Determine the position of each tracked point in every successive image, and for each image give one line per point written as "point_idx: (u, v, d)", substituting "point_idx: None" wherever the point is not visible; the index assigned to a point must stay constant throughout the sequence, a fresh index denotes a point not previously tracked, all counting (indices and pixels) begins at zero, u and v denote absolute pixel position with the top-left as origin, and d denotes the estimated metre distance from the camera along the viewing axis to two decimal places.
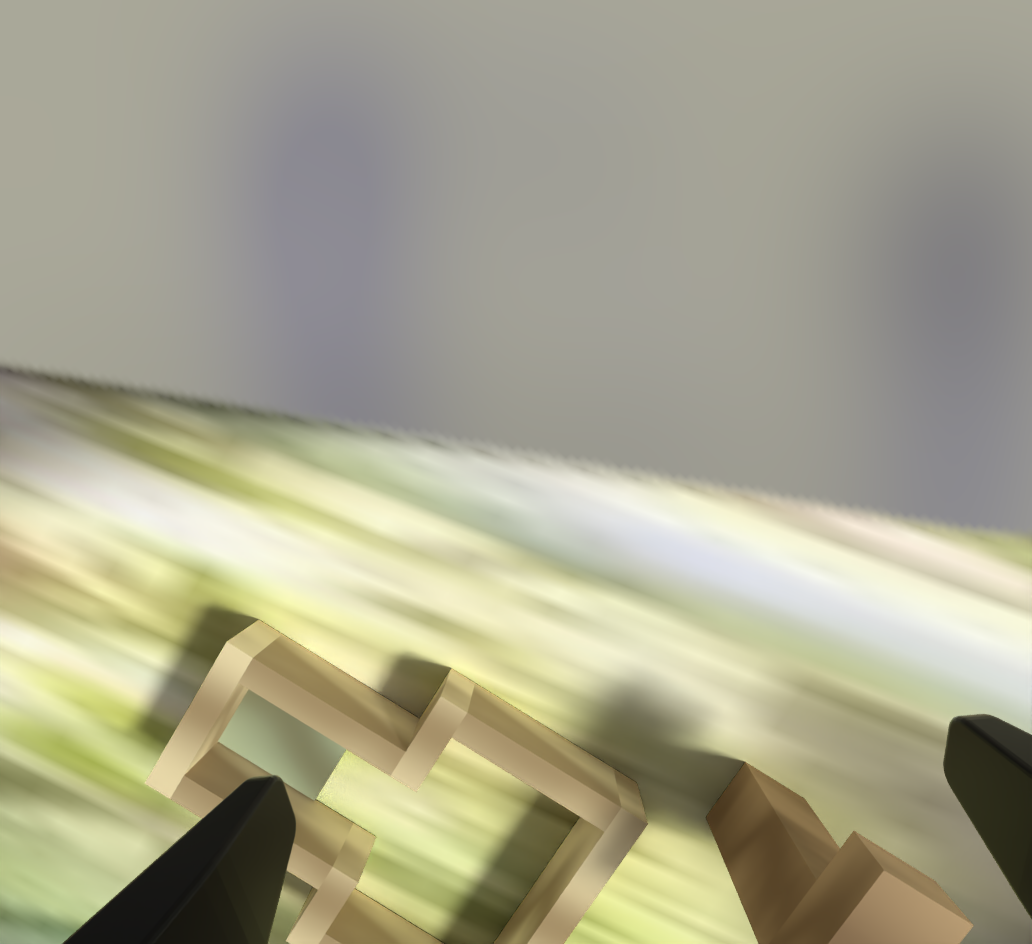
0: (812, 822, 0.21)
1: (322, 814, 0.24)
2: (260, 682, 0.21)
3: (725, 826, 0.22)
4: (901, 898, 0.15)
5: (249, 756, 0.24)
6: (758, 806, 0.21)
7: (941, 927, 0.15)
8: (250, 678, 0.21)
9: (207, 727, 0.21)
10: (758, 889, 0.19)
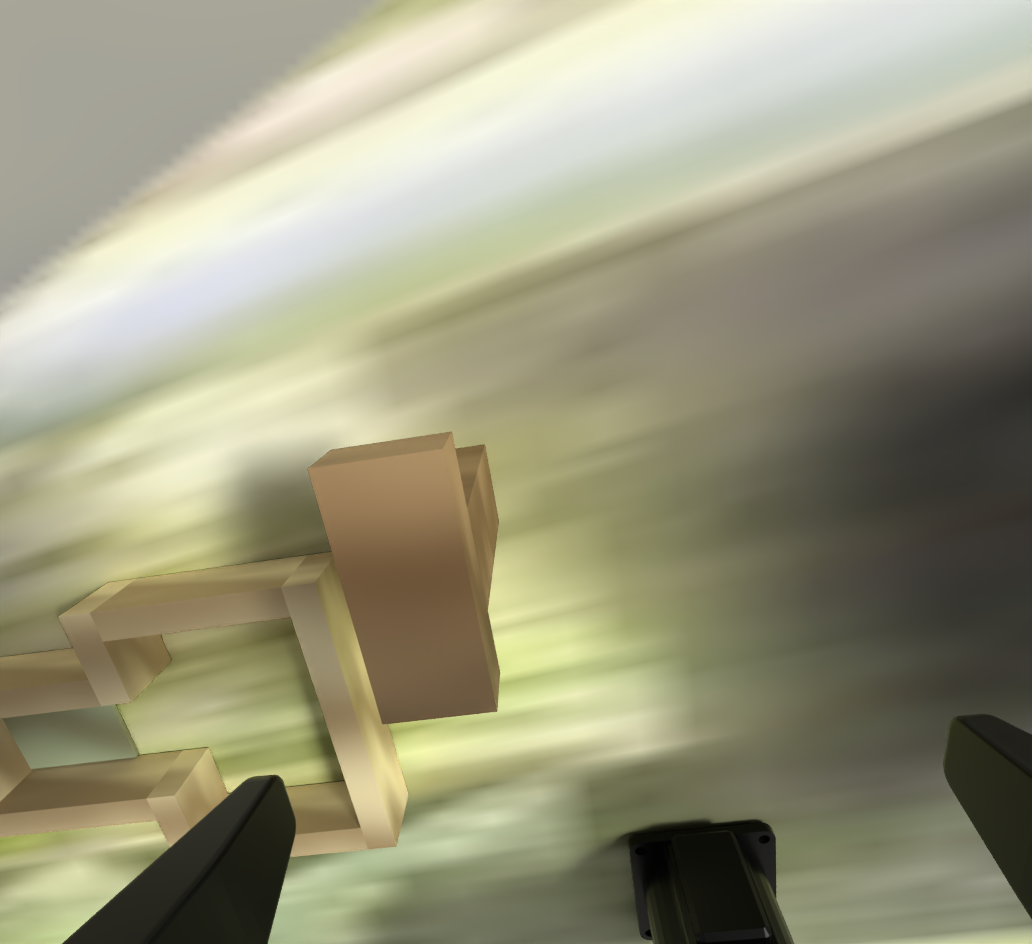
0: None
1: (145, 762, 0.24)
2: None
3: None
4: (352, 481, 0.12)
5: (61, 762, 0.24)
6: None
7: (416, 477, 0.12)
8: None
9: None
10: None
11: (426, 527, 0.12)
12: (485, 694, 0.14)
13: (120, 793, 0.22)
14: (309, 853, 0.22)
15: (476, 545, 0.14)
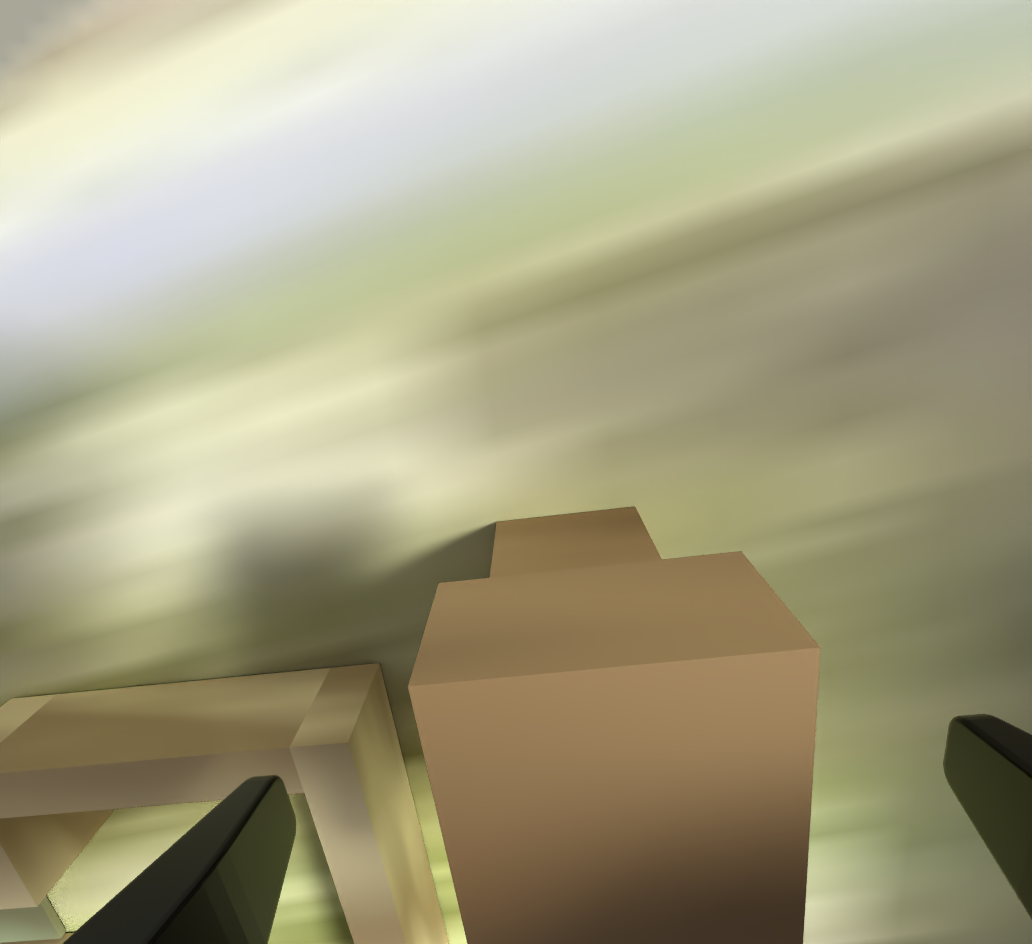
0: (612, 551, 0.10)
1: None
2: None
3: None
4: (534, 722, 0.04)
5: None
6: None
7: (725, 717, 0.04)
8: None
9: None
10: None
11: (720, 834, 0.04)
12: None
13: None
14: None
15: None
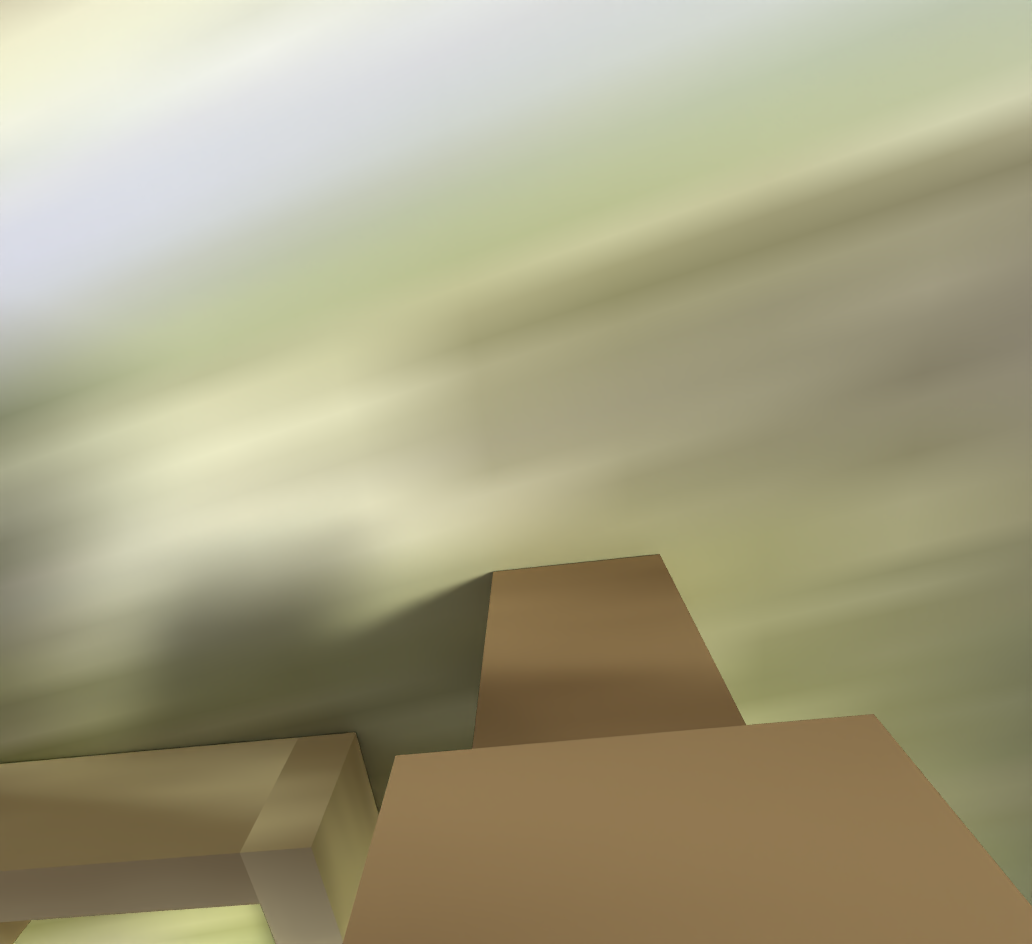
0: (636, 620, 0.08)
1: None
2: None
3: None
4: None
5: None
6: None
7: None
8: None
9: None
10: None
11: None
12: None
13: None
14: None
15: None
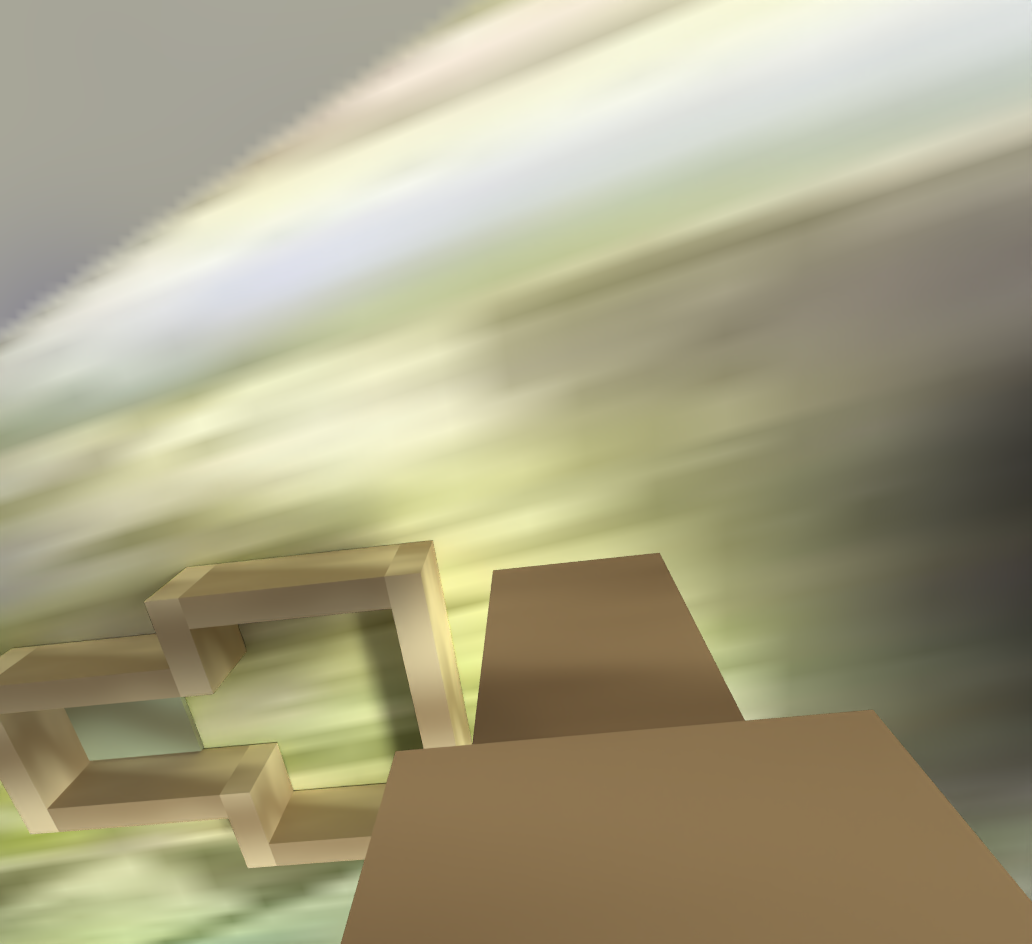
0: (636, 618, 0.08)
1: (212, 757, 0.23)
2: (10, 701, 0.19)
3: None
4: None
5: (122, 755, 0.23)
6: None
7: None
8: (0, 704, 0.19)
9: (18, 764, 0.20)
10: None
11: None
12: None
13: (190, 788, 0.21)
14: None
15: None
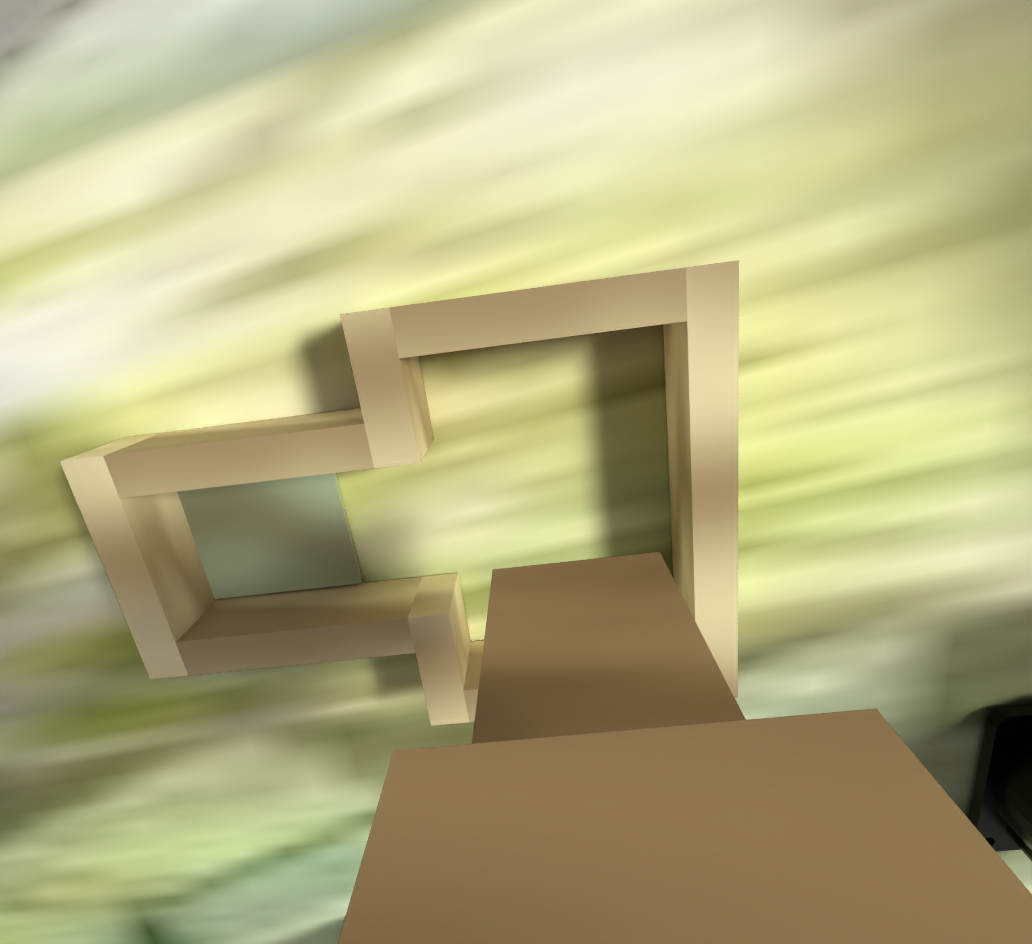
0: (637, 618, 0.08)
1: (377, 588, 0.17)
2: (139, 477, 0.14)
3: None
4: None
5: (257, 590, 0.18)
6: None
7: None
8: (125, 482, 0.14)
9: (143, 574, 0.15)
10: None
11: None
12: None
13: (363, 615, 0.16)
14: None
15: None
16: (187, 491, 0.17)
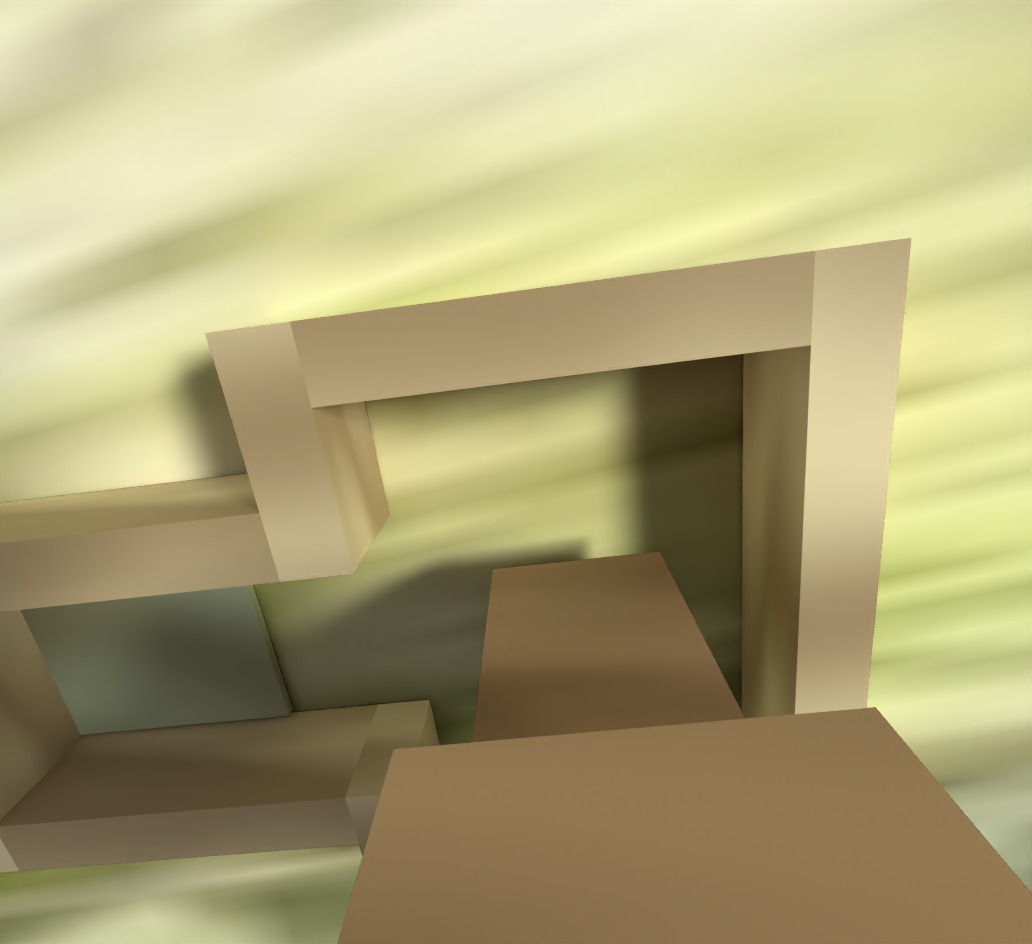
0: (637, 616, 0.08)
1: (311, 726, 0.12)
2: None
3: None
4: None
5: (140, 723, 0.12)
6: None
7: None
8: None
9: None
10: None
11: None
12: None
13: (281, 785, 0.11)
14: None
15: None
16: None
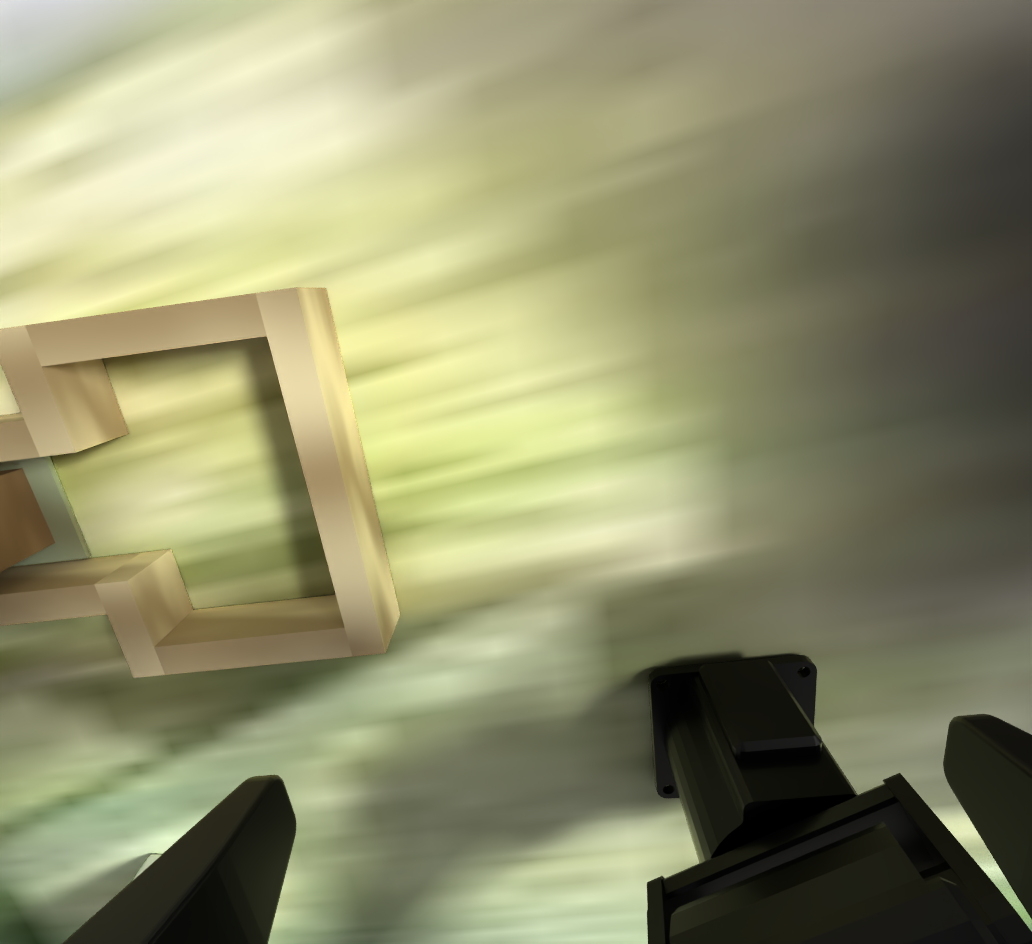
0: None
1: (98, 562, 0.20)
2: None
3: None
4: None
5: None
6: None
7: None
8: None
9: None
10: None
11: None
12: None
13: (64, 582, 0.19)
14: (284, 661, 0.19)
15: None
16: None
